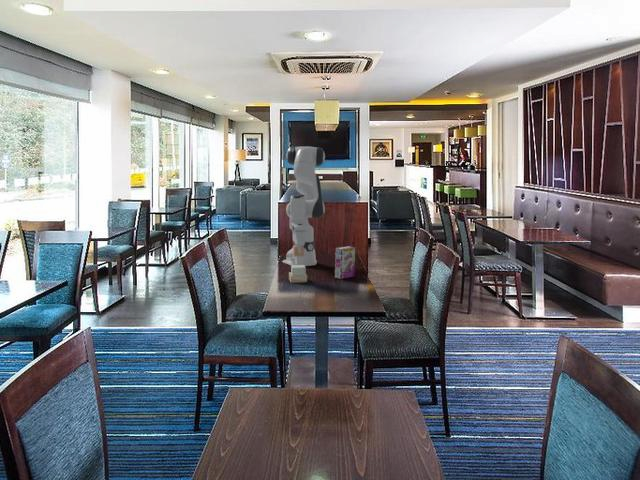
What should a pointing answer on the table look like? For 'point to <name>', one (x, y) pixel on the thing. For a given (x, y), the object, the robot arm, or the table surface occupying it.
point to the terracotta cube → (297, 252)
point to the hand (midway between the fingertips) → (298, 251)
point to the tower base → (297, 278)
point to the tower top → (298, 270)
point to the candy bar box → (344, 262)
